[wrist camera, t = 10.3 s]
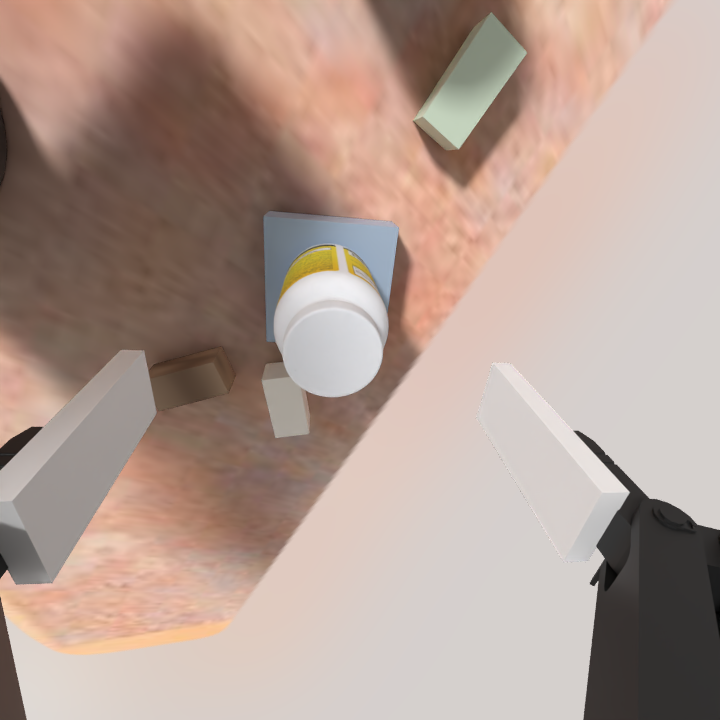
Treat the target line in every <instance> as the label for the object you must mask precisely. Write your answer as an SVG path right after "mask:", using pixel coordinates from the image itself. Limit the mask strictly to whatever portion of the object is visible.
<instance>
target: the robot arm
mask: <svg viewBox="0 0 720 720" xmlns="http://www.w3.org/2000/svg"><path fill="white" fill-rule="evenodd" d="M6 153H7V148H6V135H5V128H4V123H3V118H2V115H1V111H0V185H1V182H2V179H3V176H4V171H5V165H6ZM156 414H157V412H156V407H155V402H154V397H153V392H152V387H151V382H150V377H149V372H148V367H147V362H146V357H145V352H144V350H120V351H119V352H118V353H117V354H116V355H115V356H114V357H113V358H112V359H111V360H110V361H109V362H108V363H107V364H106V365H105V366H104V367H103V368H102V369H101V370H100V371H99V372H98V373H97V374H96V375H95V376H94V377H93V378H92V379H91V380H90V381H89V382H88V383H87V384H86V385H85V386H84V387H83V388H82V389H81V390H80V391H79V392H78V393H77V394H76V395H75V396H74V397H73V398H72V399H71V400H70V401H69V402H68V403H67V404H66V405H65V406H64V407H63V408H62V409H61V410H60V411H59V412H58V413H57V414H56V415H55V416H54V417H53V418H52V419H51V420H50V421H49V422H48V423H47V424H46V425H45V426H44V427H31V428H29V429H27V430H25V431H24V432H22V433H20V434H18V435H17V436H15V437H13V438H11V439H10V440H9V441H8V442H7V443H6V444H5V445H4V446H3V447H1V448H0V578H1V577H2V576H3V574H4V573H5V572H6V570H8V571H9V573H10V575H11V577H12V578H13V580H14V582H15V584H16V585H17V584H42V583H52V582H53V581H54V579H55V578H56V576H57V574H58V573H59V571H60V570H61V568H62V566H63V565H64V563H65V561H66V560H67V558H68V557H69V555H70V553H71V552H72V550H73V548H74V547H75V545H76V544H77V542H78V540H79V539H80V537H81V535H82V534H83V532H84V531H85V529H86V527H87V526H88V524H89V522H90V521H91V519H92V518H93V516H94V514H95V513H96V511H97V509H98V508H99V506H100V505H101V503H102V501H103V500H104V498H105V496H106V495H107V493H108V492H109V490H110V488H111V487H112V485H113V484H114V482H115V480H116V479H117V477H118V475H119V474H120V472H121V471H122V469H123V467H124V466H125V464H126V462H127V461H128V459H129V458H130V456H131V454H132V453H133V451H134V449H135V448H136V446H137V445H138V443H139V441H140V440H141V438H142V436H143V435H144V433H145V432H146V430H147V428H148V427H149V425H150V423H151V422H152V420H153V419H154V417H155V415H156ZM476 418H477V420H478V421H479V423H480V425H481V426H482V428H483V430H484V431H485V433H486V435H487V436H488V438H489V440H490V441H491V443H492V445H493V446H494V448H495V450H496V451H497V453H498V455H499V456H500V458H501V460H502V461H503V463H504V465H505V466H506V468H507V470H508V471H509V473H510V475H511V476H512V478H513V479H514V481H515V483H516V484H517V486H518V488H519V489H520V491H521V492H522V494H523V496H524V498H525V499H526V501H527V503H528V504H529V506H530V508H531V509H532V511H533V512H534V514H535V516H536V518H537V519H538V521H539V523H540V524H541V526H542V528H543V529H544V531H545V533H546V534H547V536H548V538H549V539H550V541H551V542H552V544H553V546H554V547H555V549H556V551H557V552H558V554H559V556H560V557H561V559H562V561H563V562H579V561H588V560H589V559H590V557H591V555H592V554H593V552H594V551H595V549H596V547H597V548H598V549H599V551H600V552H601V553H602V555H603V556H604V558H605V559H604V561H603V563H602V564H601V566H600V567H599V569H598V570H597V572H596V574H595V575H594V577H593V578H592V580H591V582H590V584H591V585H592V586H595V584H596V583H597V581H599V583H598V592H597V602H596V610H595V620H594V629H593V638H592V647H591V656H590V665H589V674H588V684H587V693H586V702H585V711H584V720H720V530H717V529H713V528H708V527H704V526H700V525H697V524H696V523H695V522H694V521H693V520H692V518H691V517H690V516H688V515H687V514H686V513H684V512H683V511H681V510H680V509H679V508H677V507H675V506H673V505H671V504H669V503H667V502H663V501H660V500H657V499H649V498H648V497H647V496H646V495H645V494H644V493H643V491H642V490H641V489H640V488H639V487H638V486H637V485H636V484H635V483H634V482H633V481H632V480H631V479H630V478H629V477H628V476H627V475H626V474H625V473H624V472H623V471H622V470H621V469H620V468H619V467H618V466H617V465H615V464H614V461H612V459H611V458H610V457H609V456H608V455H605V452H604V451H603V450H602V449H601V448H600V447H599V446H598V445H597V444H596V443H595V442H594V441H593V440H591V439H590V438H589V437H587V436H586V435H584V434H583V433H581V432H579V431H573V430H572V429H571V428H570V427H569V426H568V425H567V424H566V423H565V422H564V421H563V419H562V418H561V417H560V416H559V415H558V414H557V413H556V412H555V411H554V410H553V409H552V408H551V407H550V406H549V404H548V403H547V402H546V401H545V400H544V399H543V398H542V397H541V396H540V395H539V393H538V392H537V391H536V390H535V389H534V388H533V387H532V386H531V385H530V384H529V383H528V382H527V380H525V378H524V377H523V376H522V375H521V374H520V373H519V372H518V371H517V370H516V369H515V367H514V366H513V365H512V364H511V363H492V367H491V370H490V373H489V377H488V380H487V383H486V387H485V390H484V393H483V397H482V400H481V404H480V407H479V411H478V414H477V417H476ZM0 720H27V719H26V715H25V710H24V706H23V701H22V696H21V692H20V687H19V682H18V677H17V673H16V668H15V664H14V659H13V654H12V650H11V645H10V640H9V635H8V631H7V626H6V621H5V616H4V612H3V607H2V602H1V598H0Z"/></svg>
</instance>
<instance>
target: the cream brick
mask: <svg viewBox="0 0 720 720" xmlns="http://www.w3.org/2000/svg"><path fill="white" fill-rule="evenodd" d="M261 381H262V385H263V389H264V393H265V397H266V401H267V405H268V410H269V414H270V418H271V422H272V426H273V430H274V435H275V438H281V437H289V436H297V435H305V434H309V428H310V412H309V407H308V401H307V395H306V391H305V390H304V389H302V388H301V387H299V386H298V385H297V384H296V383H295V382H294V381H293V380H292V379H291V377H290V376H289V374H288V373H287V371H286V368H285V366H284V362H278V363H269V364H266V365H265V369H264V373H263V376H262V380H261Z"/></svg>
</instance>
